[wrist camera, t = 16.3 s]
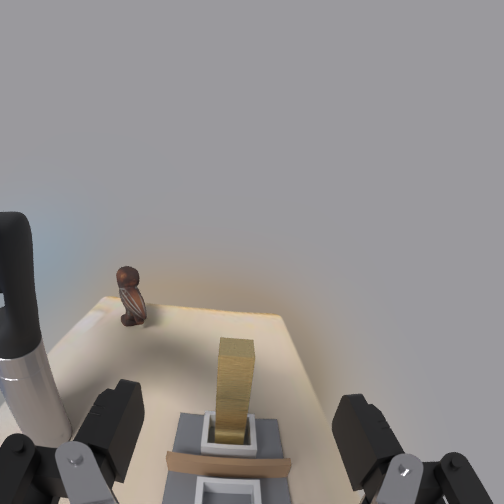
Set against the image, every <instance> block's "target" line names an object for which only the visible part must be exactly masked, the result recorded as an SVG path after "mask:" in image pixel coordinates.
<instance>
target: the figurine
mask: <svg viewBox="0 0 504 504" xmlns="http://www.w3.org/2000/svg"><path fill="white" fill-rule="evenodd" d="M116 276H117V282H118V286H119V293H120V298H121V301H122V302H123V305H124V306H125V308H126V314H124V315H122V316H121V322H122V323H123V325H124V326H133V325H137V324H139V325H141V324H143V323H144V320H145V319H146V317H147V315H146V307H145V303H144V300H143V298H142V296H141V293H140V292H139V289H138V288H137V285H138V284H139V273H138V271H137V270H136V269H134V268H132V267H129V266H125V267H121V268H120V269H119V270H118V272H117V274H116ZM143 319H144V320H143Z"/></svg>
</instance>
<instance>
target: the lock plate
mask: <svg viewBox="0 0 504 504" xmlns="http://www.w3.org/2000/svg"><path fill="white" fill-rule="evenodd" d="M215 419H216V411H205V415H195V414H187V413H181V414H180V418H179V423H178V428H177V432H176V437H175V441H174V446H173V451H172V452H170V451H167V455H166V461H167V466H168V475H167V480H166V485H165V491H164V496H163V501H162V504H291V501H290V495H289V489H288V483H287V475H288V473H289V470H290V467H291V460H290V458H288V459H283V453H282V447H281V441H280V435H279V429H278V423H277V419H255V416H254V414H247V421H246V428H245V435H244V441H243V445H229V444H216V443H215Z"/></svg>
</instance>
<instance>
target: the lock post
mask: <svg viewBox="0 0 504 504" xmlns="http://www.w3.org/2000/svg"><path fill="white" fill-rule="evenodd" d="M254 362H255V352H254V343H253V340H248V339H234V338H221V337H220V346H219V356H218V375H217V395H216V419H215V443H216V444H229V445H243V441H244V435H245V428H246V421H247V414H248V407H249V399H250V392H251V385H252V377H253V370H254Z"/></svg>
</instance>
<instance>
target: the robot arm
mask: <svg viewBox="0 0 504 504" xmlns="http://www.w3.org/2000/svg"><path fill="white" fill-rule="evenodd" d="M0 293H3V295H4V301H5V306H4V307H2V308H0V389H1V391H2V394H3V396H4V398H5V400H6V402H7V404H8V407H9V409H10V411H11V413H12V414H13V416H14V418H15V420H16V422H17V424H18V426H19V428H20V430H21V431H22V433H23V434H19V433H17V434H12V435H10V436H8V437H7V438H6V439H5V440H4V442H3V444H2V445H1V447H0V504H58V502H59V499H60V497H63V498H69V501H70V504H119V502H118V500H117V498H116V496H115V494H114V492H113V490H112V487H113V484H114V481H117V482H120V483H124V480H125V477H126V473H127V470H128V467H129V464H130V461H131V458H132V455H133V452H134V449H135V445H136V442H137V439H138V436H139V434H140V431H141V428H142V425H143V421H144V414H145V411H144V404H143V398H142V391H141V385H140V383H139V382H133V381H129V380H124V379H121V380H120V381H119V383H118V384H117V386H116V388H115V390H112V389H106V390H105V391H104V392H102V393H101V394H100V395H98V397H97V399H96V401H95V402H94V405H93V406H92V408H91V409H90V413H88V415H87V417H86V418H85V420H84V422H83V424H82V426H81V427H80V429H79V431H78V433H77V435H76V437H75V438H74V440H73V441H69V439H70V437H71V434H72V428H71V424H70V422H69V419H68V417H67V414H66V412H65V409H64V406H63V404H62V401H61V398H60V396H59V393H58V390H57V387H56V384H55V381H54V378H53V375H52V372H51V368H50V365H49V361H48V358H47V354H46V351H45V347H44V343H43V339H42V335H41V330H40V325H39V317H38V307H37V300H36V293H35V283H34V266H33V244H32V234H31V229H30V225H29V222H28V220H27V218H26V216H25V215H24V214H22V213H20V212H0ZM332 432H333V435H334V438H335V441H336V444H337V446H338V449H339V452H340V455H341V458H342V460H343V463H344V466H345V469H346V472H347V474H348V477H349V480H350V483H351V486H352V489H353V491H357V490H362V489H364V492H365V494H364V496H363V497H362V499H361V501H360V503H359V504H446V503H445V501H444V499H443V496H444V495H445V497H446V499H447V501H448V503H449V504H493V502H492V500H491V499H490V497H489V495H488V493H487V492H486V490H485V488H484V487H483V485H482V483H481V481H480V480H479V478H478V477H477V475H476V473H475V471H474V470H473V468H472V466H471V465H470V463H469V462H468V460H467V459H466V457H465V456H463V455H462V454H460V453H456V452H451V453H448V454H446V455H445V456H444V457H443V458H442V459H441V460H440V461H439V462H421V461H420V459H419V458H417V457H416V456H414V455H412V454H405V452H404V451H403V449H402V447H401V445H400V444H399V442H398V440H397V438H396V437H395V435H394V433H393V431H392V430H391V429H390V426H389V424H388V423H387V422H386V419H385V417H384V416H383V414H382V412H381V411H380V410H379V409H377V408H376V407H375V406H374V405H373V404H368V403H367V402H366V400H365V398H364V396H363V395H362V394H351V395H344V396H342V398H341V400H340V403H339V406H338V409H337V411H336V413H335V416H334V418H333V421H332ZM68 441H69V442H68Z"/></svg>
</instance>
